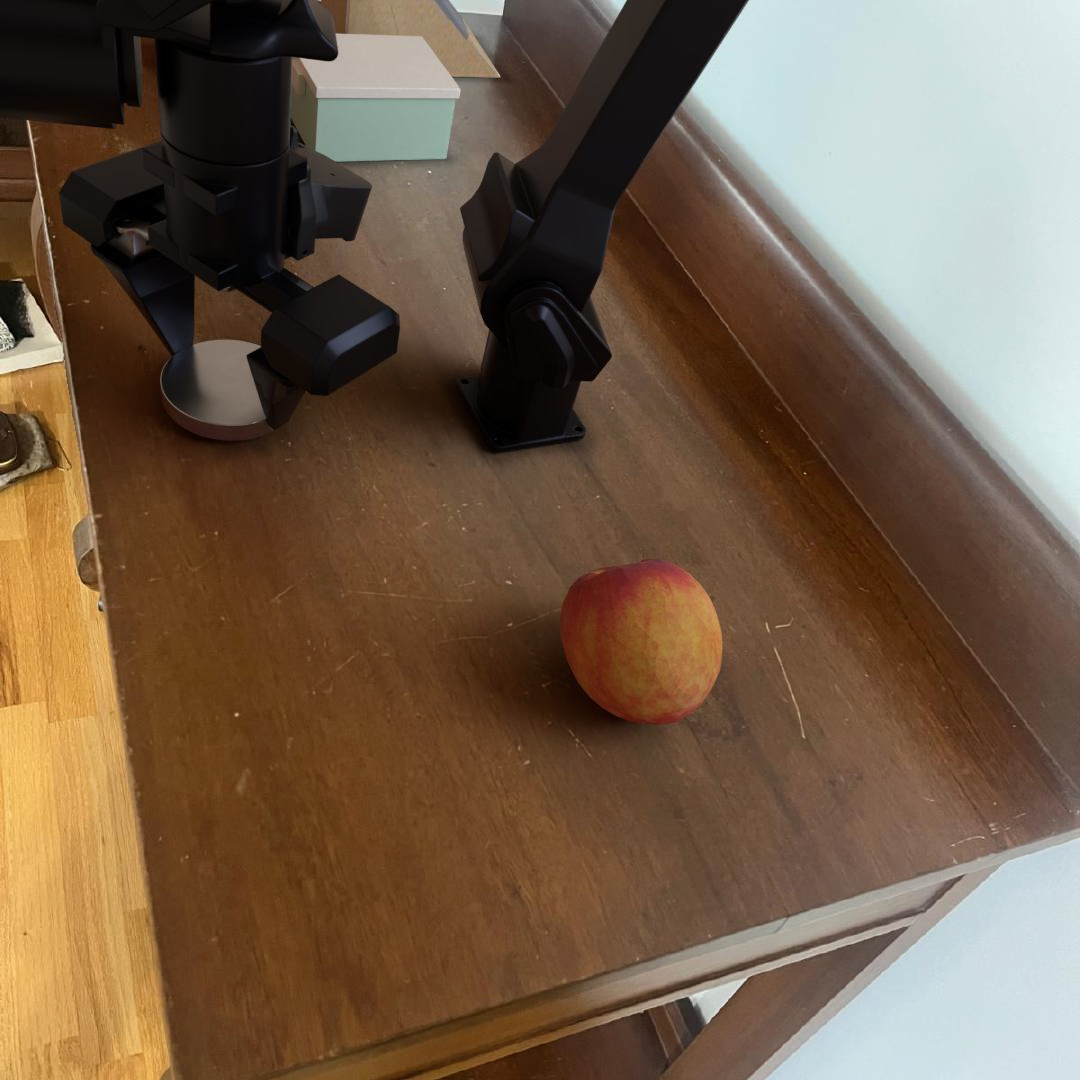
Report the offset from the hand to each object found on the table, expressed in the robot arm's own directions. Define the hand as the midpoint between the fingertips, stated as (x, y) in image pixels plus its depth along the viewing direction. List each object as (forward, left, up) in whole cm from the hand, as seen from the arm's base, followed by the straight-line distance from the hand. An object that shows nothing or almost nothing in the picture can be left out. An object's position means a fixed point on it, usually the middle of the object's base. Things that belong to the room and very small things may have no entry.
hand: (230, 390), depth 58 cm
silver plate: (0, 0, -1) cm, 1 cm away
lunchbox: (+30, -18, -1) cm, 35 cm away
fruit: (-24, -14, -1) cm, 28 cm away
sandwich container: (+44, -27, -1) cm, 52 cm away
